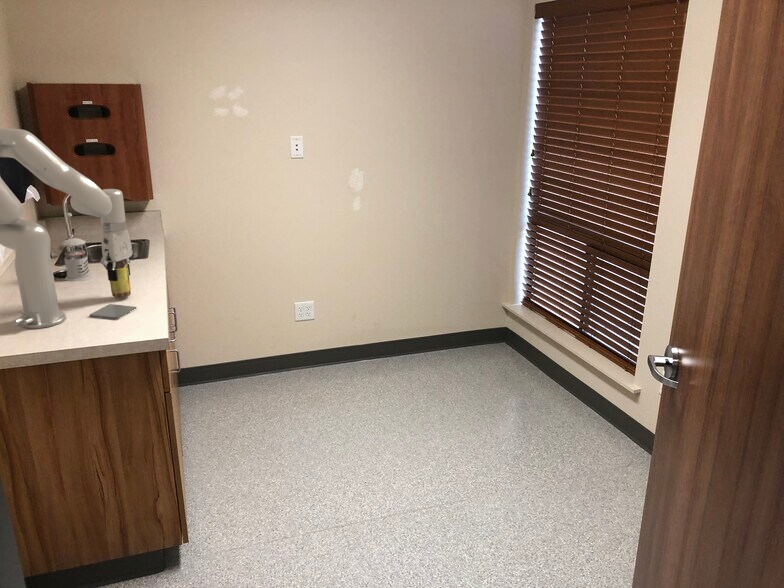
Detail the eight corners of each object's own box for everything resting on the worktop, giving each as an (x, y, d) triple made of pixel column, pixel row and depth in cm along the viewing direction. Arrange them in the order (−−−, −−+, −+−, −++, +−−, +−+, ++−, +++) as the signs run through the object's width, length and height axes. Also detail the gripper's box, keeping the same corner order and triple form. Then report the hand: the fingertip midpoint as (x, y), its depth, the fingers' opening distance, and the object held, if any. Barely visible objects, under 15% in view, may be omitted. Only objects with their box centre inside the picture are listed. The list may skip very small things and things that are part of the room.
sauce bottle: (134, 296, 207) (128, 240, 201) (116, 300, 203) (109, 243, 197) (126, 291, 211) (120, 237, 205) (108, 295, 207) (101, 239, 201)
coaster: (117, 319, 189) (117, 317, 188) (89, 316, 190) (89, 314, 190) (136, 309, 198) (136, 306, 197) (110, 306, 200) (109, 303, 199)
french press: (59, 281, 223) (47, 215, 215) (76, 271, 234) (66, 209, 226) (84, 281, 223) (74, 216, 215) (100, 272, 234) (91, 209, 226)
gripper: (107, 232, 191) (113, 286, 196) (139, 222, 207) (144, 272, 213) (86, 230, 192) (93, 284, 198) (120, 221, 208) (125, 270, 214)
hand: (119, 277), depth 205 cm, fingers closed on sauce bottle, 6 cm apart
